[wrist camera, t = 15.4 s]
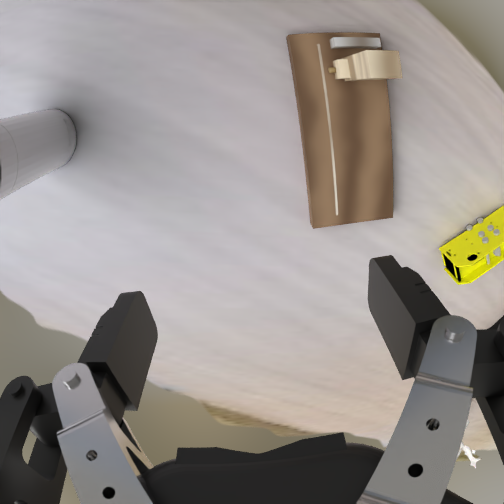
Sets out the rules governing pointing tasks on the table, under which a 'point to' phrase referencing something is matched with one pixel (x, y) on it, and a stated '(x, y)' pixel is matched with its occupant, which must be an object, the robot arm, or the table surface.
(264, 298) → the table surface
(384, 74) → the beige tall blocky piece
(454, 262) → the yellow toy chassis
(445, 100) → the table surface
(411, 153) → the table surface
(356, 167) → the walnut board
